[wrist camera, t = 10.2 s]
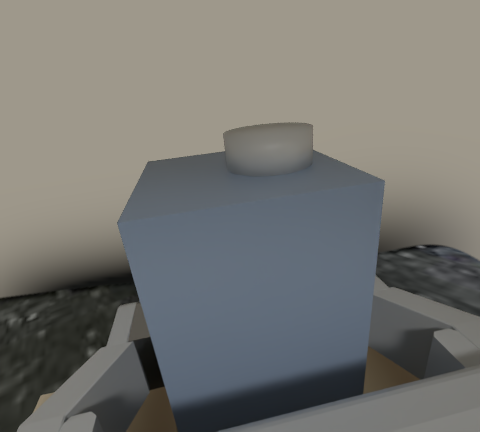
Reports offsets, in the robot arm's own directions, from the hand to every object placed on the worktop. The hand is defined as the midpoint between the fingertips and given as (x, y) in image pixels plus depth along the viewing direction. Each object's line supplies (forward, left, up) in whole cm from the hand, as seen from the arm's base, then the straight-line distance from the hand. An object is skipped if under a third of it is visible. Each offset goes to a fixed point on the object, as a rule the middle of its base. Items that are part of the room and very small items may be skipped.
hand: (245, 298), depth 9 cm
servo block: (0, -1, -5) cm, 6 cm away
